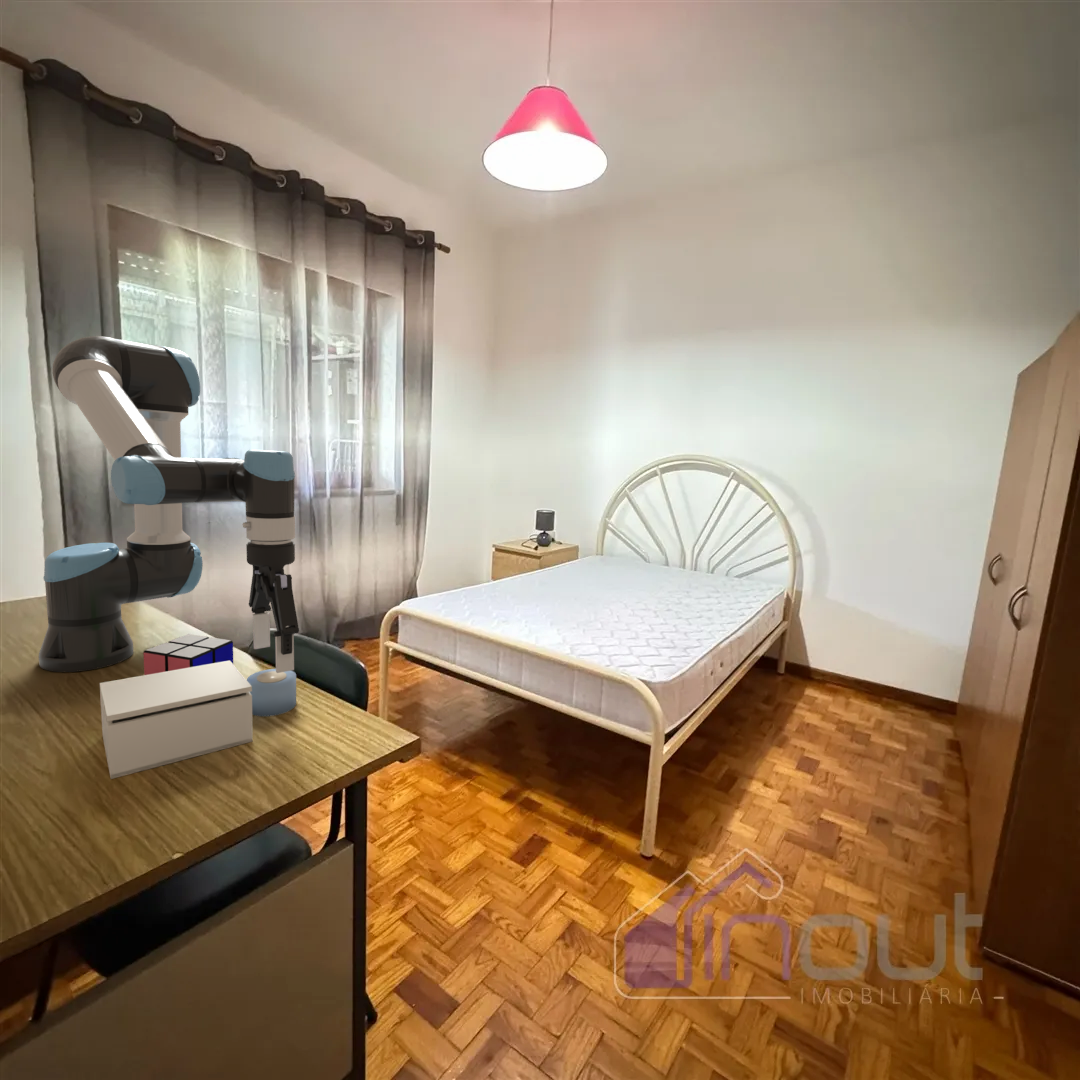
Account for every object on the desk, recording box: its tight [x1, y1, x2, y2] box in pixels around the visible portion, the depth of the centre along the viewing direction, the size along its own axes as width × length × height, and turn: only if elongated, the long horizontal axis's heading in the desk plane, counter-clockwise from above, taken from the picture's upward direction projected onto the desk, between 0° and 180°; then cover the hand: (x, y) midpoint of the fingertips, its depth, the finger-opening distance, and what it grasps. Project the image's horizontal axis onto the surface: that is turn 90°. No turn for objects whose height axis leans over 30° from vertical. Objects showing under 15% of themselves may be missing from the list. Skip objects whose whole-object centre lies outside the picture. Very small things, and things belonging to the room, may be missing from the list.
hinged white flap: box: [99, 660, 252, 722], centre depth 87 cm, size 14×18×1 cm
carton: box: [99, 690, 254, 780], centre depth 88 cm, size 14×18×8 cm
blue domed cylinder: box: [246, 668, 297, 717], centre depth 101 cm, size 8×8×6 cm
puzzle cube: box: [143, 633, 234, 675], centre depth 102 cm, size 10×10×10 cm
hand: (272, 658), depth 99 cm, fingers open, 13 cm apart
